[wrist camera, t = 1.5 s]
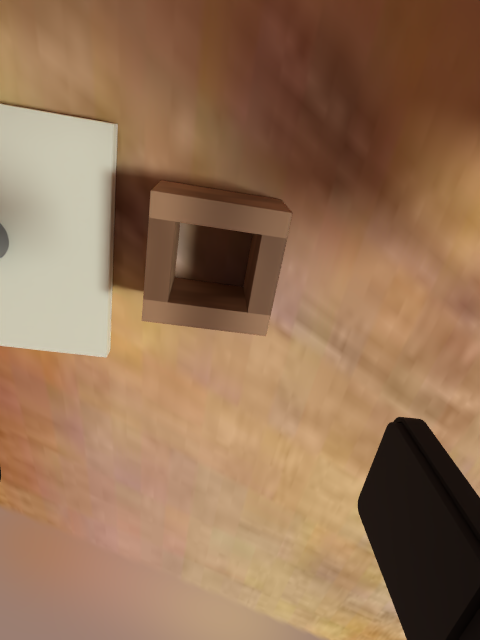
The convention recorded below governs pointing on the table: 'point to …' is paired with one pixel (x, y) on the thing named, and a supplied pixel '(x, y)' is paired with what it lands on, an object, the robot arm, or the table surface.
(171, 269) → the walnut ring
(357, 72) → the table surface
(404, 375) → the table surface
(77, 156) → the post stand
